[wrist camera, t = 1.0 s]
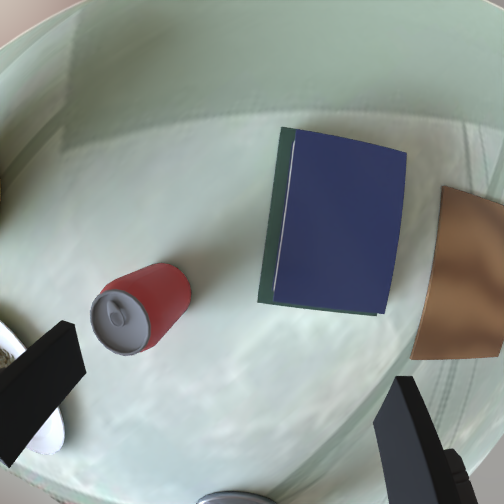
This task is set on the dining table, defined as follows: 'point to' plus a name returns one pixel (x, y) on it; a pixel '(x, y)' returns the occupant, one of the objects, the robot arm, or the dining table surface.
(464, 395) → the dining table surface
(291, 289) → the navy book
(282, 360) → the dining table surface
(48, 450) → the plated food
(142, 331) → the beer can
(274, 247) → the green notebook
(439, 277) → the brown wooden board
